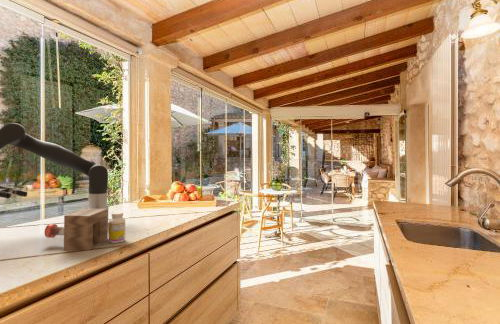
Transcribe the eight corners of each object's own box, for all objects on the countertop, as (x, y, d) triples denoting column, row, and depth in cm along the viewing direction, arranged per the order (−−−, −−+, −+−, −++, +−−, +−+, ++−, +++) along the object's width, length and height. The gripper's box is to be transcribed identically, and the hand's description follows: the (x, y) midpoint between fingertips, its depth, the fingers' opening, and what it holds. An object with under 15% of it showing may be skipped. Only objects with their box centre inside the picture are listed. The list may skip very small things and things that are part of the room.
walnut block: (60, 249, 114) (60, 215, 114) (82, 238, 130) (82, 208, 130) (88, 250, 115) (89, 216, 114) (107, 238, 131) (108, 208, 130)
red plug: (44, 239, 117) (44, 225, 117) (53, 235, 123) (53, 222, 123) (78, 239, 118) (78, 226, 118) (85, 236, 123) (86, 223, 123)
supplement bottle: (112, 239, 131) (112, 211, 130) (127, 239, 131) (127, 211, 131) (106, 243, 124) (106, 214, 124) (121, 243, 124) (122, 214, 124)
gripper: (-33, 178, 113) (6, 187, 113) (-2, 178, 127) (33, 185, 127) (-38, 197, 113) (1, 205, 112) (-6, 194, 127) (29, 202, 127)
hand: (18, 195), depth 120 cm, fingers open, 8 cm apart
